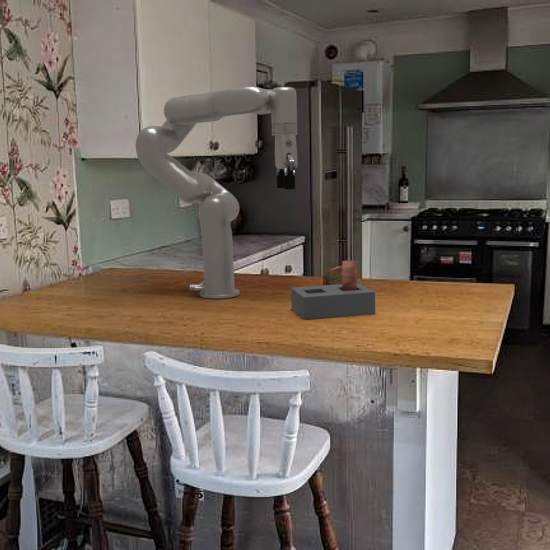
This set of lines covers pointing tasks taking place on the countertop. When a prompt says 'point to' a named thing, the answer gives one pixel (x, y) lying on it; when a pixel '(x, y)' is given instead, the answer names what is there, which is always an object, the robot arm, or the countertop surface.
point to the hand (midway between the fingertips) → (285, 188)
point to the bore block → (332, 301)
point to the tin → (333, 276)
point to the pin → (349, 276)
